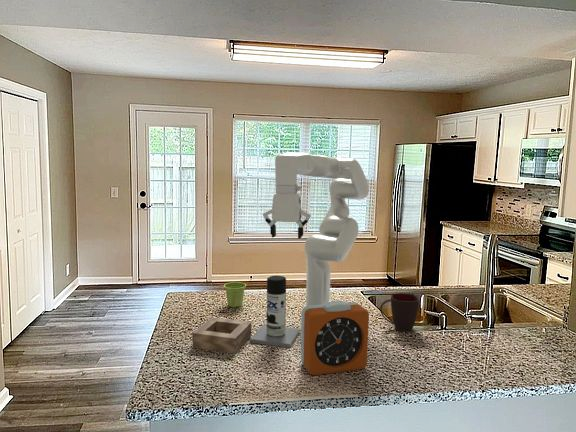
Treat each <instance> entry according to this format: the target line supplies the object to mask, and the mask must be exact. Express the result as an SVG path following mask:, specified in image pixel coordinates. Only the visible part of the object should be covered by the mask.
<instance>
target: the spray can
mask: <svg viewBox="0 0 576 432" xmlns="http://www.w3.org/2000/svg"><path fill="white" fill-rule="evenodd" d="M286 303H287V278H286V277H285V276H284V275H282V276H281V275H271V276H269V277H267V279H266V325H267V334H268V335H269V336H273V337H280V336H283V335H285V330H286V329H285V327H287V326H286V322H287V321H286V316H287V314H286V313H287V312H286V310H287V308H286V307H287V304H286Z"/></svg>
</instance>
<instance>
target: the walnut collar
mask: <svg viewBox="0 0 576 432" xmlns="http://www.w3.org/2000/svg"><path fill="white" fill-rule="evenodd" d="M191 337H192V338H191V339H192V340H191V341H192V348H194V349H199V350H200V349H202V350H209V351H214V352H215V351H216V352H221V351H222V353H230V354H236V353H237V352H238V351H240V349H241V348H242V347H243V345H244V344H245V343H247V342H248V340H250V338H251V337H252V321H248V320H247V321H246V320H240V319H230V318H229V319H228V318H220V317H211V318H209V319H208V320H207V321H206V322H204V323H203V324H201V325H200V326H199V327H197V328H196V329H195V330H194V331H193V332H192V336H191Z"/></svg>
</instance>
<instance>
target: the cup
mask: <svg viewBox="0 0 576 432" xmlns="http://www.w3.org/2000/svg"><path fill="white" fill-rule="evenodd" d="M386 303H387V304H388V303H390V307H391V308H390V309H391V316H392V320H390V319H388V318H387V317H386V316H385V315H384V312H383V309H382V308H383V307H384V305H385V304H386ZM419 306H420V298H419V297H418V296H417V295H416V294H412V293H402V292H401V293H399V292H398V293H391V295H390V298H388V299H385V300H384V301H382V302H381V304H380V306H379V311H380V314H381V317H383V318H384V320H386V321H387V322H388V323H389V324H392V325H394V328H395V330H396V331H398V332H406V333H407V332H412V331H413V328H414V326H415V323H416V321H417V317H418V313H419Z"/></svg>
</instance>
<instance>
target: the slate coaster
mask: <svg viewBox="0 0 576 432" xmlns="http://www.w3.org/2000/svg"><path fill="white" fill-rule="evenodd" d="M285 329H286V330H285V335H283V336H280V337H273V336H269V335H268V334H267V323H266V324H264V323H262V324H261V326H260V327H259V328H258V329H257V331H256V332H255V333H254V334H253V335H251V337H250V338H249V343H251V344H252V343H253V344H261V345H269V346H274V347H275V346H276V347H283V348H285V347H286V348H291V347H292V345H293V344H294V342H295V340H296V339H297V337H298V335H299V334H300V333H301V332H300V331H301V328H298V327H290V326H286V327H285Z"/></svg>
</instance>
